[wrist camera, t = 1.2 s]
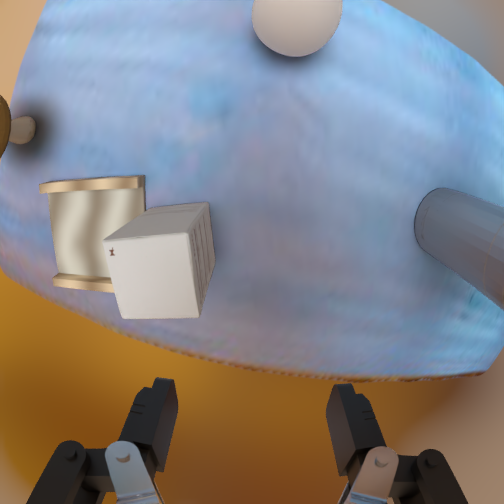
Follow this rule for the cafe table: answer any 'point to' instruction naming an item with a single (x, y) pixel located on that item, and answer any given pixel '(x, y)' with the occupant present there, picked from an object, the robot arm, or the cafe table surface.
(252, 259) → the cafe table surface
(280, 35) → the sauce bottle
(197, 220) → the supplement box
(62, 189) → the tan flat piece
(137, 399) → the robot arm
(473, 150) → the cafe table surface
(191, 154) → the cafe table surface
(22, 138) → the mushroom
